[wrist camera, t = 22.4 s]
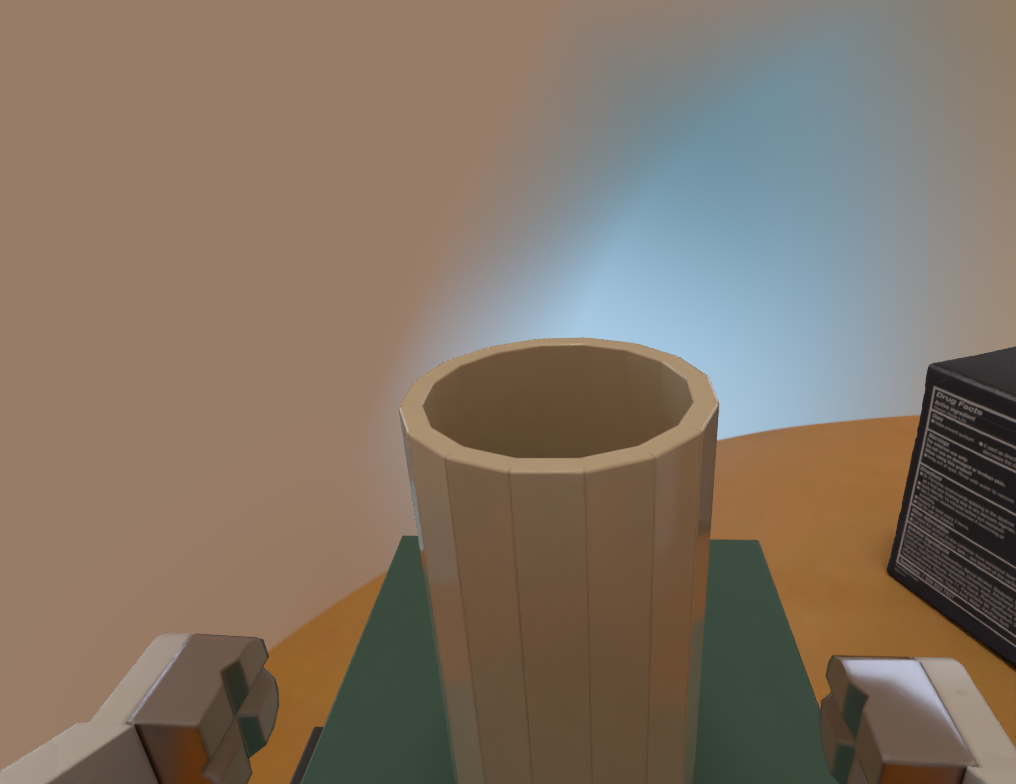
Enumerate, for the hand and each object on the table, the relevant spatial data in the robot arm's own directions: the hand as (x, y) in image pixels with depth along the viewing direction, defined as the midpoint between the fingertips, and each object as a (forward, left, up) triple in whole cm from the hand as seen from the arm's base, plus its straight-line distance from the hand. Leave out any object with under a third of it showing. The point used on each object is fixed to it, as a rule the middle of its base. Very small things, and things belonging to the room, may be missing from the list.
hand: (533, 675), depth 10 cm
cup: (0, +3, -7) cm, 8 cm away
